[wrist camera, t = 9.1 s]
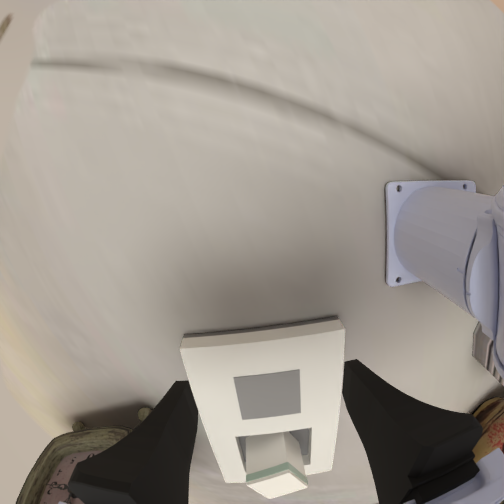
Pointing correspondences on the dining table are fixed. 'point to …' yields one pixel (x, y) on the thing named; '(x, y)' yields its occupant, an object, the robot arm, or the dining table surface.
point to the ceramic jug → (490, 428)
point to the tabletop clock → (68, 461)
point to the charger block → (274, 464)
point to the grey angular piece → (485, 352)
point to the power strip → (268, 389)
